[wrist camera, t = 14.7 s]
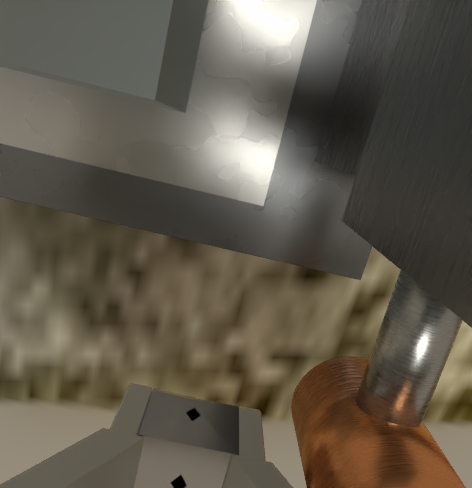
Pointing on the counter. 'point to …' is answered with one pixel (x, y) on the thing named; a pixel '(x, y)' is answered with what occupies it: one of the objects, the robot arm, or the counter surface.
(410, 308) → the lever
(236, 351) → the counter surface
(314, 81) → the press
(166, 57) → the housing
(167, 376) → the counter surface
